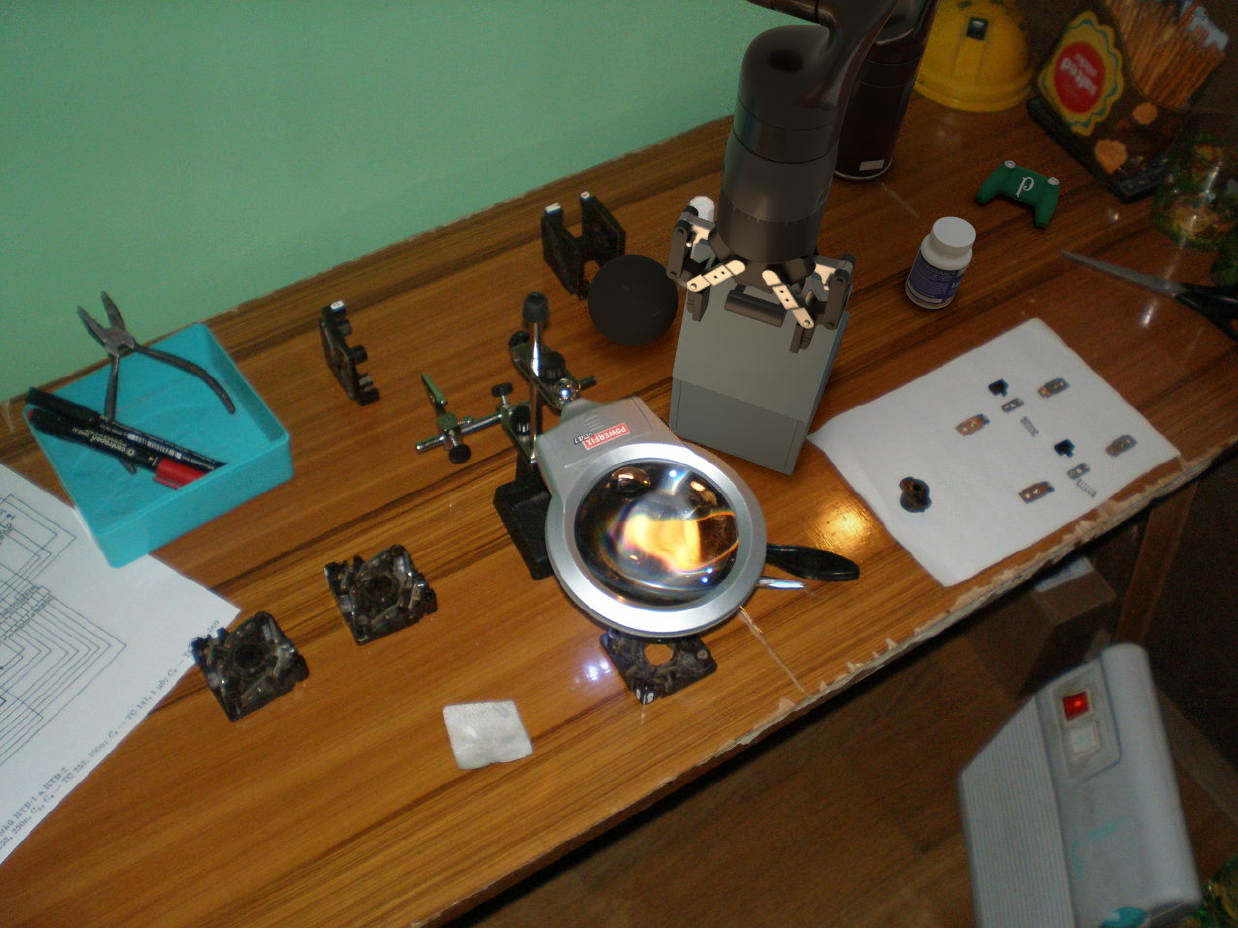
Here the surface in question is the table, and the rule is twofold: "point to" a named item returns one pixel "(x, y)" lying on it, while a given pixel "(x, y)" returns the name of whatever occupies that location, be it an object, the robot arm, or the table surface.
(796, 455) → the grey box
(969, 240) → the pill bottle
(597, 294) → the black ball
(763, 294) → the lid
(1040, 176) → the gaming controller
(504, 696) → the table surface
